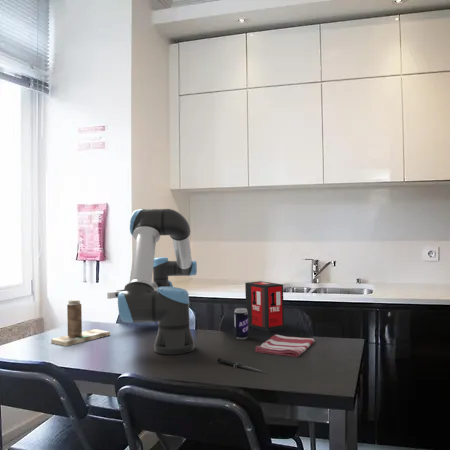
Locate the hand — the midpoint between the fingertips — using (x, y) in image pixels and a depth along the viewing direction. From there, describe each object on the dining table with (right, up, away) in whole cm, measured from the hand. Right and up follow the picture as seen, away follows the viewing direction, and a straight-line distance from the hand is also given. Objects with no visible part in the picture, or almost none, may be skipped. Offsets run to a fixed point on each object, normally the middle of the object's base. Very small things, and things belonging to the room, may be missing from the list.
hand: (108, 295), depth 206 cm
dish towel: (+76, -15, -31) cm, 83 cm away
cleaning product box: (+70, -15, +3) cm, 72 cm away
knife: (+60, -15, -58) cm, 85 cm away
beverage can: (+59, -15, -17) cm, 63 cm away
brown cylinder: (-9, -15, -16) cm, 23 cm away
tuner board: (-8, -16, -12) cm, 22 cm away
